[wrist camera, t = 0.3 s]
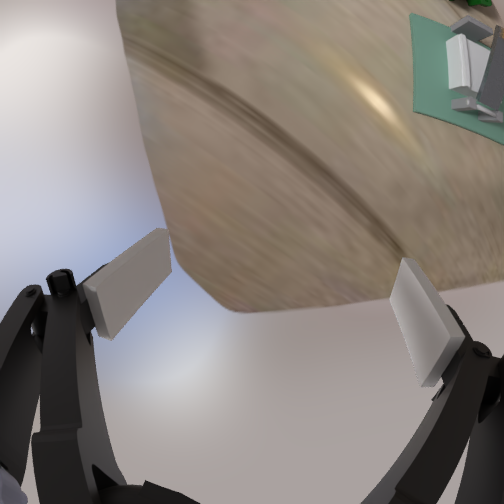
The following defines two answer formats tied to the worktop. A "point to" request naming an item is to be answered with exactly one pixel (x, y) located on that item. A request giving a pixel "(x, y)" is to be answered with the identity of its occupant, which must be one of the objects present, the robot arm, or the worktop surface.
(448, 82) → the board
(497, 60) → the grey flat bar
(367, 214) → the worktop surface
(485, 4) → the clamp
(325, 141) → the worktop surface
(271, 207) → the worktop surface
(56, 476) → the robot arm
